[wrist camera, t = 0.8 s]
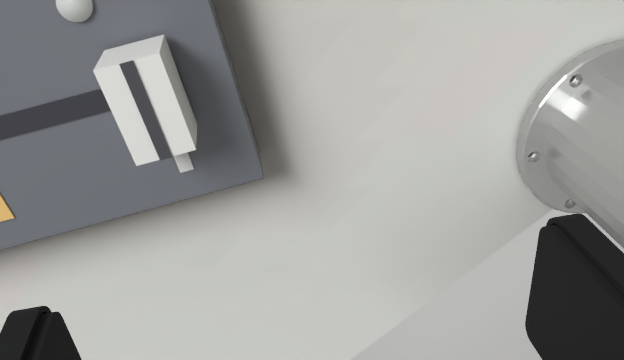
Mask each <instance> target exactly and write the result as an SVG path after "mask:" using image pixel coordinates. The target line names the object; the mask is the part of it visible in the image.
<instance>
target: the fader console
mask: <svg viewBox="0 0 624 360" xmlns="http://www.w3.org/2000/svg"><path fill="white" fill-rule="evenodd" d="M160 35H165V38H166V41H167V43H168V46H169V49H170V51H171V54H172V57H173V60H174V62H175V65H176V68H177V71H178V73H179V76H180V79H181V81H182V84H183V87H184V90H185V92H186V95H187V98H188V100H189V103H190V106H191V109H192V111H193V114H194V117H195V119H196V122H197V141H196V150H194V151H190V152H187V153H183V154H179V155H176V156H172V158H168V159H164V160H157V161H153V162H150V163H146V164H142V165H139V166H136V164H135V162H134V160H133V158H132V155H131V153H130V151H129V149H128V147H127V144H126V142H125V140H124V138H123V136H122V133H121V131H120V129H119V127H118V125H117V122H116V120H115V118H114V116H113V114H112V111H111V109H110V107H109V105H108V103H107V101H106V98H105V96H104V94H103V92H102V90H101V87H100V85H99V83H98V81H97V79H96V76H95V74H94V72H93V70H94V68H95V66H96V64H97V63H98V61H99V59H100V57H101V55H102V54H103V52H104V50H107V49H111V48H115V47H119V46H122V45H126V44H130V43H134V42H137V41H141V40H145V39H149V38H152V37H156V36H160ZM261 178H264V176H263V170H262V164H261V158H260V153H259V150H258V147H257V143H256V140H255V137H254V134H253V131H252V127H251V124H250V121H249V118H248V114H247V111H246V108H245V105H244V101H243V98H242V95H241V92H240V89H239V85H238V82H237V79H236V76H235V72H234V69H233V66H232V63H231V60H230V56H229V53H228V50H227V47H226V43H225V40H224V37H223V34H222V31H221V27H220V24H219V21H218V18H217V14H216V11H215V8H214V5H213V2H212V0H0V250H1V249H5V248H8V247H12V246H16V245H19V244H23V243H27V242H30V241H34V240H38V239H41V238H45V237H49V236H52V235H56V234H60V233H63V232H67V231H71V230H74V229H78V228H82V227H85V226H89V225H93V224H96V223H100V222H104V221H107V220H111V219H115V218H118V217H122V216H126V215H129V214H133V213H137V212H140V211H144V210H148V209H151V208H155V207H159V206H162V205H166V204H170V203H173V202H177V201H181V200H184V199H188V198H192V197H195V196H199V195H203V194H206V193H210V192H214V191H217V190H221V189H225V188H228V187H232V186H236V185H239V184H243V183H247V182H250V181H254V180H258V179H261Z"/></svg>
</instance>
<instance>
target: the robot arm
mask: <svg viewBox="0 0 624 360" xmlns="http://www.w3.org/2000/svg"><path fill="white" fill-rule="evenodd" d="M516 159H517V164H518V169H519V173H520V175H521V177H522V179H523V181H524V183H525V185H526V186H527V187H528V188H529V189H530V191H531V192H532V193H533V194H534V195H535V196H536V197H537V198H538V199H539V200H540V201H542V202H543V203H544V204H546V205H548V206H550V207H552V208H554V209H556V210H560V211H564V212H569V213H577V214H572V215H566V216H560V217H555V218H551V219H549V220H548V222H547V225H546V227H542V228H541V230H540V232H539V238H538V245H537V251H536V257H535V264H534V271H533V277H532V284H531V290H530V296H529V303H528V309H527V316H526V325H525V326H526V331H527V335H528V337H529V339H530V341H531V343H532V344H533V346H534V347H535V349H536V350H537V352H538V354H539V355H540V357H541V358H542V360H624V253H623V252H622V251H621V250H620V249H618V248H617V247H616V246H615V245H614V244H613V243H612V242H611V241H610V240H609V239H608V238H607V237H606V236H605V235H604V234H603V233H602V232H601V231H600V230H599V229H598V228H597V227H596V226H595V225H594V224H593V223H591V222H590V221H589V220H588V219H587V218H586V217H585V216H584V215H582V214H578V213H587V214H588V215H589V216H590V217H591V218H592V219H593V220H594V221H596V222H597V223H598V224H599V225H600V226H601V227H602V228H603V229H604V230H605V231H606V232H607V233H608V234H609V235H610V236H611V237H612V238H613V239H614V240H615V241H617V242H618V243H619V244H620V245H621V246H622V247H623V248H624V40H618V41H614V42H610V43H607V44H603V45H600V46H598V47H596V48H594V49H592V50H589V51H587V52H585V53H583V54H582V55H580V56H579V57H577V58H575V59H574V60H572V61H571V62H569V63H568V64H566V65H565V66H564V67H563V68H562V69H561V70H560V71H558V72H557V73H556V74H555V75H554V76H553V77H552V78H551V79H550V80H549V81H548V82H547V83H546V84H545V86H544V87H543V88H542V89H541V90H540V92H539V93H538V94H537V96H536V97H535V99H534V100H533V102H532V104H531V105H530V107H529V108H528V110H527V112H526V115H525V117H524V120H523V122H522V124H521V127H520V131H519V135H518V140H517V152H516ZM0 360H81V357H80V355H79V353H78V351H77V349H76V346H75V344H74V342H73V340H72V338H71V335H70V333H69V331H68V329H67V326H66V324H65V322H64V320H63V318H62V316H61V314H60V313H59V312H51V311H50V309H49V308H48V307H47V306H40V307H35V308H29V309H23V310H17V311H13V312H11V313H10V314H9V316H8V317H7V319H6V322H5V324H4V326H3V328H2V331H1V333H0Z"/></svg>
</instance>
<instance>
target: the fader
mask: <svg viewBox="0 0 624 360" xmlns="http://www.w3.org/2000/svg"><path fill="white" fill-rule="evenodd" d="M93 72H94V74H95V76H96V79H97V81H98V83H99V85H100V87H101V90H102V92H103V94H104V96H105V98H106V101H107V103H108V105H109V107H110V109H111V111H112V114H113V116H114V118H115V120H116V122H117V125H118V127H119V129H120V131H121V133H122V136H123V138H124V140H125V142H126V144H127V147H128V149H129V151H130V153H131V155H132V158H133V160H134V162H135V164H136V166H139V165H142V164H146V163H150V162H153V161H157V160H164V159H168V158H172V156H176V155H179V154H183V153H187V152H190V151H194V150H196V141H197V122H196V119H195V117H194V114H193V111H192V109H191V106H190V103H189V100H188V98H187V95H186V92H185V90H184V87H183V84H182V81H181V79H180V76H179V73H178V71H177V68H176V65H175V62H174V60H173V57H172V54H171V51H170V49H169V46H168V43H167V41H166V38H165V35H160V36H156V37H152V38H149V39H145V40H141V41H137V42H134V43H130V44H126V45H122V46H119V47H115V48H111V49H107V50H104V52H103V54H102V55H101V57H100V59H99V61H98V63H97V64H96V66H95V68H94V70H93Z"/></svg>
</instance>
